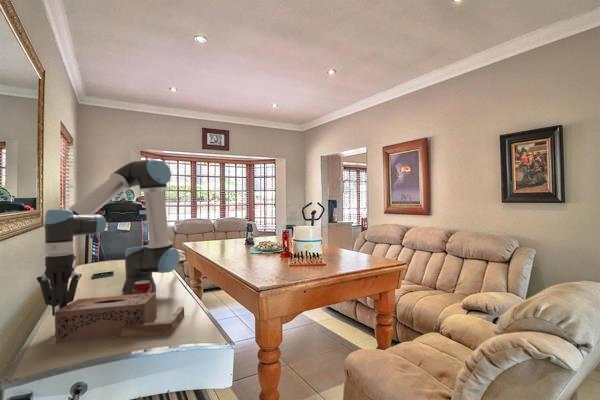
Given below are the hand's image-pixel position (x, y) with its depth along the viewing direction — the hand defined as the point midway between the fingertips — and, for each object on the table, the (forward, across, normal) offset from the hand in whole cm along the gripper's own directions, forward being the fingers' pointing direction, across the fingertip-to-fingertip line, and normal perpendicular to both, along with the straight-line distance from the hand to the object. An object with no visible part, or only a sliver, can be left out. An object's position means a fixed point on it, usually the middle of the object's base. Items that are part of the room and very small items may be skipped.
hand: (59, 324), depth 104 cm
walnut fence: (+2, +31, -1) cm, 31 cm away
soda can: (+3, +21, +16) cm, 26 cm away
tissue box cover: (+3, +16, -1) cm, 17 cm away
